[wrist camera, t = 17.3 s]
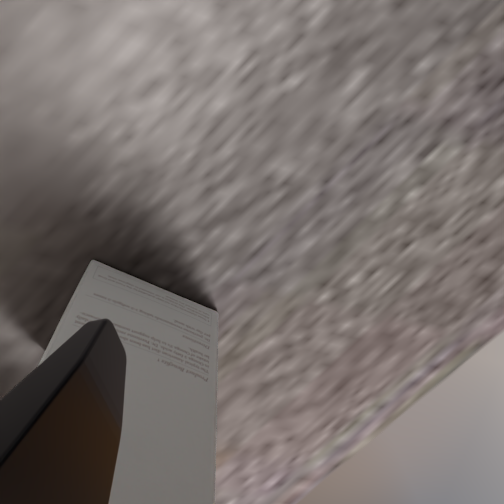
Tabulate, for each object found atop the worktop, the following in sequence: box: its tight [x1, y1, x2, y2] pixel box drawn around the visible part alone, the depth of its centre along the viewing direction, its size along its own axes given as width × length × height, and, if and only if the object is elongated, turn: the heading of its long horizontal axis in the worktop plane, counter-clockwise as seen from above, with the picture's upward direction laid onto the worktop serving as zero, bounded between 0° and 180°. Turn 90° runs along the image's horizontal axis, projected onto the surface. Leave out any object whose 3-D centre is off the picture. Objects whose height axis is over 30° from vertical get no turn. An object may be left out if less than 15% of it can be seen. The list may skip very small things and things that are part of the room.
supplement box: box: [38, 260, 218, 504], centre depth 21 cm, size 7×7×13 cm
